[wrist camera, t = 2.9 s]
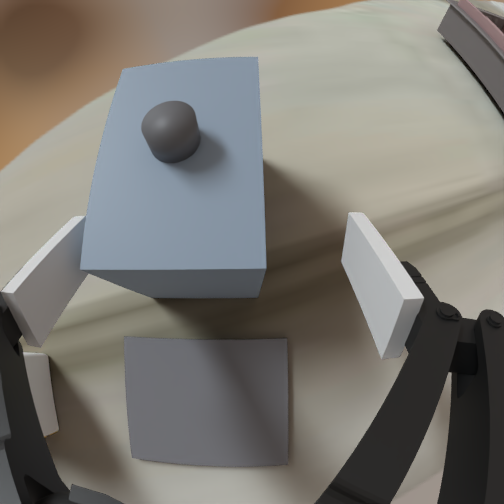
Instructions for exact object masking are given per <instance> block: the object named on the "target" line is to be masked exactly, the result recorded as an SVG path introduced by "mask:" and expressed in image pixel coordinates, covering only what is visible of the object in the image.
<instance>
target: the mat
mask: <svg viewBox="0 0 504 504" xmlns="http://www.w3.org/2000/svg"><path fill="white" fill-rule="evenodd" d="M124 355H125V384H126V401H127V415H128V426H129V436H130V445H131V454H132V458H136V459H143V460H150V461H157V462H166V463H176V464H187V465H202V466H232V467H246V466H276V465H288V351H287V338H279V339H233V340H213V339H167V338H145V337H128V336H125V337H124Z"/></svg>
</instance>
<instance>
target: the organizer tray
mask: <svg viewBox="0 0 504 504" xmlns="http://www.w3.org/2000/svg"><path fill="white" fill-rule="evenodd" d="M447 1H448V2H449V3H450V4H451V5H450V7H449V8H448V10H447V12H446V14H445V16H444V18H443V20H442V22H441V24H440V26H439V28H438V29H437V31H438V32H439V33H440V34H441V35H442V36H443V37H444V38H445V39H446V40H447V41H448V42H449V43H450V44H451V45H452V46H453V48H454V49H455V50H456V51H457V52H458V53H459V54H460V56H461V57H462V58H463V59H464V60H465V61H466V63H467V64H468V65H469V66H470V67H471V69H472V70H473V71H474V72H475V74H476V75H477V76H478V78H479V79H480V80H481V81H482V83H483V84H484V85H485V87H486V88H487V89H486V90H488V91H489V92H490V94H491V95H492V96H493V98H494V99H495V101H496V102H497V104H498V105H499V107H500V108H501V110H502V111H503V113H504V17H501V16H499V15H496V14H493V13H491V12H488V11H485V10H482V9H480V8H477V7H475V6H474V5H473V4H472V3H470V2H469V1H468V0H460V1H459V2H457V1H454V0H447ZM486 90H485V91H486Z"/></svg>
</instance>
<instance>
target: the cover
mask: <svg viewBox="0 0 504 504" xmlns="http://www.w3.org/2000/svg"><path fill="white" fill-rule="evenodd" d="M80 270H82V271H84V272H87V273H89V274H92V275H94V276H97V277H99V278H102V279H104V280H107V281H109V282H112V283H114V284H117V285H119V286H122V287H124V288H127V289H130V290H132V291H135V292H137V293H140V294H143V295H146V296H148V297H151V298H258V296H259V293H260V289H261V286H262V282H263V279H264V275H265V272H266V237H265V207H264V180H263V155H262V131H261V109H260V88H259V68H258V57H227V58H208V59H194V60H183V61H174V62H165V63H158V64H151V65H144V66H138V67H132V68H126V69H123V71H122V74H121V76H120V79H119V82H118V85H117V88H116V91H115V94H114V98H113V101H112V104H111V107H110V111H109V114H108V118H107V121H106V125H105V129H104V132H103V136H102V140H101V144H100V148H99V152H98V157H97V161H96V166H95V170H94V175H93V180H92V185H91V191H90V196H89V202H88V208H87V214H86V221H85V228H84V236H83V244H82V253H81V263H80Z"/></svg>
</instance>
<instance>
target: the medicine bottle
mask: <svg viewBox="0 0 504 504" xmlns="http://www.w3.org/2000/svg"><path fill="white" fill-rule="evenodd" d="M23 355H24V360H25V366H26V371H27V375H28V380H29V384H30V389H31V393H32V397H33V401H34V405H35V408H36V412H37V415H38V419H39V422H40V425H41V429H42V432H43V435H44V438H45V437H47V436H49V435H52V434H54V433H56V432H58V431H59V426H58V421H57V416H56V410H55V405H54V398H53V392H52V385H51V377H50V369H49V359H48V356H47V354H44V353H29V352H23Z"/></svg>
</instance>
